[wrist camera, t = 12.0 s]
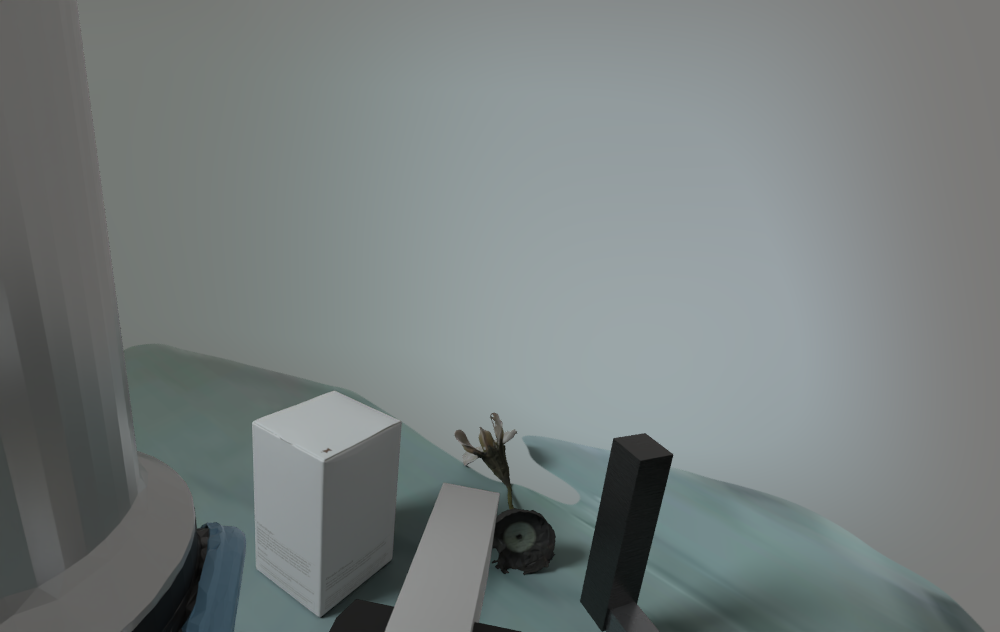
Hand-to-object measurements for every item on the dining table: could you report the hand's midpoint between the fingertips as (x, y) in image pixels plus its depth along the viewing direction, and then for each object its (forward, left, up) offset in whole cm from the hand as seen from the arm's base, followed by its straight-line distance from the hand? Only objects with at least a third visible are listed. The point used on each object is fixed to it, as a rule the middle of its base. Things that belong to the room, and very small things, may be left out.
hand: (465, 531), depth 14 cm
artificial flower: (-2, +41, -29) cm, 50 cm away
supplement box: (-16, +27, -29) cm, 42 cm away
